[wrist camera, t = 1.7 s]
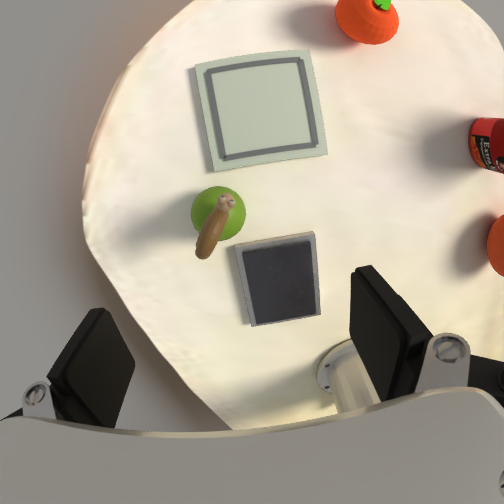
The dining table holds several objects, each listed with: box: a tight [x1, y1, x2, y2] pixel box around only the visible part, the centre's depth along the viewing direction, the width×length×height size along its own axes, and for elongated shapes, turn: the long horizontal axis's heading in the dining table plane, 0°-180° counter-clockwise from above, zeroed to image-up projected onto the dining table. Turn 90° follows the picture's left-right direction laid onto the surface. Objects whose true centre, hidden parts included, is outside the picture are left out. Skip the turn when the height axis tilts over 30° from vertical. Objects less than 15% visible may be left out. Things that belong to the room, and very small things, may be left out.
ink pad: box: [235, 231, 321, 327], centre depth 33 cm, size 11×9×2 cm
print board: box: [195, 49, 328, 172], centre depth 26 cm, size 12×12×1 cm
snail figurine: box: [191, 186, 246, 259], centre depth 24 cm, size 5×6×12 cm
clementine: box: [335, 0, 399, 45], centre depth 19 cm, size 8×7×7 cm
